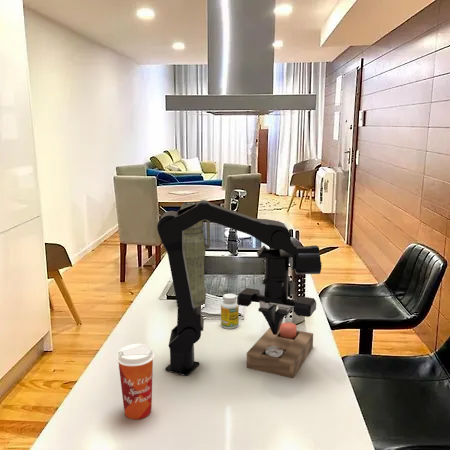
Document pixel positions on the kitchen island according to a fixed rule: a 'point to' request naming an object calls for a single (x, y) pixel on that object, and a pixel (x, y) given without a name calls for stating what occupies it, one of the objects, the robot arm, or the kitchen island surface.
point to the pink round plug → (288, 330)
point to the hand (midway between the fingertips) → (275, 334)
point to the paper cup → (136, 379)
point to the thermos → (196, 257)
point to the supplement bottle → (229, 312)
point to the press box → (289, 360)
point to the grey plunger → (274, 351)
